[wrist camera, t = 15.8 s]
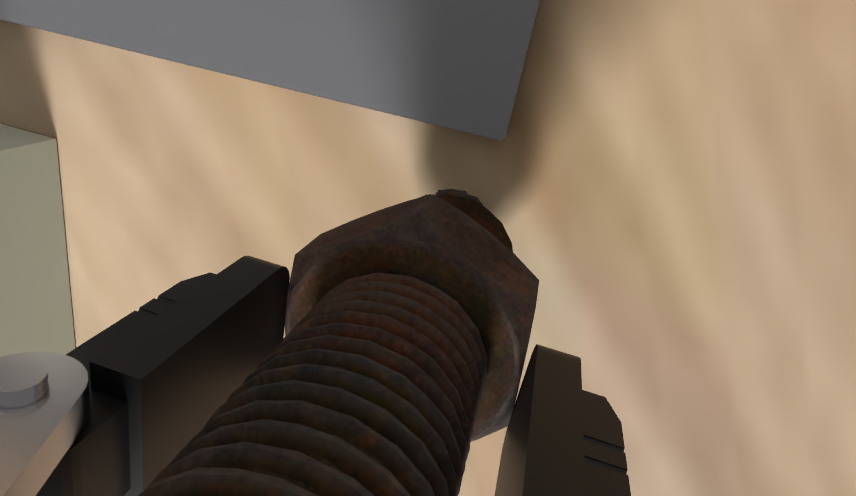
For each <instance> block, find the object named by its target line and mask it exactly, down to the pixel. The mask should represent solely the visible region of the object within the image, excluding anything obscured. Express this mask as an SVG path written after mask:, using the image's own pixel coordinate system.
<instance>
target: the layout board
mask: <svg viewBox="0 0 856 496" xmlns="http://www.w3.org/2000/svg"><path fill="white" fill-rule="evenodd" d="M539 4H540V0H0V20H4V21H9V22H13V23H17V24H21V25H25V26H29V27H33V28H38V29H42V30H46V31H50V32H54V33H58V34H62V35H66V36H71V37H75V38H79V39H83V40H87V41H91V42H95V43H100V44H104V45H108V46H112V47H116V48H120V49H124V50H128V51H133V52H137V53H141V54H145V55H149V56H153V57H157V58H162V59H166V60H170V61H174V62H178V63H182V64H186V65H190V66H195V67H199V68H203V69H207V70H211V71H215V72H219V73H224V74H228V75H232V76H236V77H240V78H244V79H248V80H252V81H257V82H261V83H265V84H269V85H273V86H277V87H281V88H286V89H290V90H294V91H298V92H302V93H306V94H310V95H314V96H319V97H323V98H327V99H331V100H335V101H339V102H343V103H348V104H352V105H356V106H360V107H364V108H368V109H372V110H376V111H381V112H385V113H389V114H393V115H397V116H401V117H405V118H410V119H414V120H418V121H422V122H426V123H430V124H434V125H438V126H443V127H447V128H451V129H455V130H459V131H463V132H467V133H471V134H476V135H480V136H484V137H488V138H492V139H496V140H500V141H503V140H504V138H505V136H506V134H507V131H508V127H509V123H510V119H511V115H512V111H513V107H514V103H515V99H516V95H517V91H518V87H519V83H520V79H521V75H522V71H523V67H524V64H525V60H526V56H527V52H528V48H529V44H530V40H531V36H532V32H533V28H534V24H535V20H536V16H537V12H538V8H539Z"/></svg>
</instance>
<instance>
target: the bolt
mask: <svg viewBox="0 0 856 496" xmlns="http://www.w3.org/2000/svg"><path fill="white" fill-rule="evenodd" d="M438 192H439V193H436V195H437V196H436V195H434V194H433V195H431V194H430V195H425V196H422V197H420V198H417V199H413V200H410V201H406V202H403V203H400V204H397V205H394V206H391V207H388V208H385V209H382V210H379V211H376V212H374V213H371V214H368V215H366V216H363V217H360V218H358V219H355V220H353V221H350V222H348V223H346V224H343V225H341V226H339V227H336V228H334V229H332V230H329V231H327V232H325V233H322V234H320V235H319V236H318V237H317V238H315V239H314V240H313V241H312V242H310V243H309V244H308V245H307V246H305V247H304V248H303V249H302V250H300V251H299V252H298V253H297V254H295V258H294V263H293V268H292V273H291V278H290V283H289V288H288V296H287V306H286V315H285V334H286V336H285V338H284V339H283V340H282V341H281V343H280V344H279V345H277V346H275V347H274V348H273V350H272V351H271V352H270V354H269V355H268V357H267V358H265V359H264V360H262V362H261V363H260V364H259V365H258V367H257V369H256V370H255V371H254V372H252V373H251V374H249V375H248V376H247V377H246V379H245V381H244V382H243V384H242V385H241V386H240V387H238V388H237V389H235V390H234V391H233V392H232V393H231V395H230V396H229V398H228V399H227V401H226V403H224V404H223V405H221V406H220V407H219V408H218V409H217V410H216V411H215V413H214V414H213V415H212V416H211V418H210V419H209V420H208V421H207V423H206V424H205V426H204V428H203V429H202V430H201V431H200V432H199V433H198V434H197V435H196V436H194V437H193V438H192V439H191V440H190V442H189V443H188V444H187V445H186V446H185V447H184V448H183V449H182V450H181V451H180V452H179V453H178V454H177V456H176V457H175V458H174V459H173V460H172V461H171V463H170V464H169V465H168V466H167V467H166V468H164V469H162V470H161V471H160V473H159V474H158V475H157V476H156V477H155V478H154V480H153V481H152V482H151V483H150V484H149V485H148V487H147V488H146V489H145V490H144V491H143V492H141V493H140V494H139V495H138V496H458V494H459V491H460V486H461V481H462V476H463V473H464V470H465V462H466V459H467V456H468V453H469V449H470V442H471V441H474V440H477V439H480V438H482V437H484V436H487V435H489V434H491V433H493V432H496V431H498V430H500V429H503V428H505V427H507V426H508V424H509V421H510V418H511V414H512V411H513V409H514V405H515V401H516V396H517V392H518V388H519V383H520V379H521V374H522V370H523V366H524V361H525V357H526V352H527V348H528V343H529V338H530V333H531V328H532V323H533V318H534V313H535V308H536V301H537V293H538V285H539V280H538V279H537V278H536V276H535V275H534V274H533V273H532V272H531V271H530V270H529V269H528V268H527V267H526V266H525V265H524V264H523V263H522V262H521V261H520V259H519V258H518V257H517V256H516V255H515V254H514V253H513V250H512V243H511V241H510V239H509V237H508V235H507V233H506V231H505V229H504V226H503V224H502V223H501V222H500V221H499V220H498V219H497V218H496V217H495V216H494V215H493V214H492V213H491V212H490V211H489V210H488V209H487V208H486V207H484V206H483V205H482V203H481V202H480V201H479V200H478V198H477V197H474V196H470V195H468V194H467V193H466V191H461V190H454V189H447V190H438Z"/></svg>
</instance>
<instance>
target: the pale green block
mask: <svg viewBox="0 0 856 496" xmlns="http://www.w3.org/2000/svg"><path fill="white" fill-rule="evenodd" d="M74 349H75V338H74V327H73V316H72V305H71V294H70V283H69V272H68V261H67V251H66V240H65V229H64V218H63V207H62V196H61V185H60V174H59V163H58V152H57V141H56V139H55V138H51V137H47V136H44V135H40V134H36V133H32V132H29V131H25V130H21V129H18V128H14V127H10V126H6V125H3V124H0V357H3V356H7V355H12V354H17V353H25V352H54V353H59V354H64V355H66V354H67V353H69V352H71V351H72V350H74Z"/></svg>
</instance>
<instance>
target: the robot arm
mask: <svg viewBox="0 0 856 496" xmlns="http://www.w3.org/2000/svg"><path fill="white" fill-rule="evenodd" d="M289 280H290V276H289V271H288V269H287V268H286V267H284V266H280V265H277V264H274V263H271V262H267V261H264V260H261V259H257V258H254V257H251V256H244V257H242V258H240V259H239V260H237V261H236V262H234V263H233V264H231V265H230V266H229V267H227V268H226V269H224V270H223V271H221V272H220V273H218V274H217V275H216V274H213V273H207V274H204V275H201V276H197V277H194V278H191V279H187V280H184V281H181V282H179V283H178V284H176V285H174V286H173V287H171V288H170V289H168V290H167V291H165V292H163V293H162V294H160V295H159V296H158V299H152V300H151V301H149V302H148V303H146V304H145V305H143V306H141V307H140V309H139V311H138V312H137V311H134V312H132V313H130V314H129V315H127V316H126V317H124V318H123V319H121V320H119V321H118V322H116V323H115V324H113V325H111V326H110V327H108V328H107V329H105V330H104V331H102V332H100V333H99V334H97V335H96V336H94V337H93V338H91V339H89V340H88V341H86V342H85V343H83V344H82V345H80V346H78V347H77V348H75V349H74V350H72V351H71V352H69V353H67V354H66V355H64V354H59V353H54V352H25V353H17V354H12V355H7V356H3V357H0V496H138V495H139V494H140V493H141V492H143V491H144V490H145V489H146V488H147V487H148V485H149V484H150V483H151V482H152V481H153V480H154V478H155V477H156V476H157V475H158V474H159V473H160V471H161V470H162V469H164V468H166V467H167V466H168V465H169V464H170V463H171V461H172V460H173V459H174V458H175V457H176V456H177V454H178V453H179V452H180V451H181V450H182V449H183V448H184V447H185V446H186V445H187V444H188V443H189V442H190V440H191V439H192V438H193V437H194V436H196V435H197V434H198V433H199V432H200V431H201V430H202V429H203V428H204V426H205V424H206V423H207V421H208V420H209V419H210V418H211V416H212V415H213V414H214V413H215V411H216V410H217V409H218V408H219V407H220V406H221V405H223V404H224V403H226V401H227V399H228V398H229V396H230V395H231V393H232V392H233V391H234V390H235V389H237V388H238V387H240V386H241V385H242V384H243V382H244V381H245V379H246V377H247V376H248V375H249V374H251V373H252V372H254V371H255V370H256V369H257V367H258V365H259V364H260V363H261V362H262V360H264V359H265V358H267V357H268V355H269V354H270V352H271V351H272V350H273V348H274V347H275V346H277V345H279V344H280V343H281V341H282V340H283V335H284V326H285V315H286V306H287V296H288V288H289ZM626 473H627V463H626V455H625V453H624V440H623V433H622V425H621V421H620V420H619V418H618V417H617V415H616V414H615V412H614V410H613V409H612V407H611V406H610V404H609V402H608V401H607V399H606V398H605V397H603V396H600V395H597V394H593V393H590V392H587V391H584V390H582V380H581V359H580V358H579V357H577V356H573V355H570V354H567V353H563V352H560V351H557V350H554V349H550V348H547V347H544V346H541V345H536V346H535V348H534V350H533V353H532V355H531V358H530V361H529V364H528V367H527V370H526V373H525V376H524V379H523V382H522V385H521V388H520V391H519V394H518V397H517V400H516V403H515V406H514V409H513V411H512V414H511V418H510V421H509V424H508V428H507V431H506V435H505V439H504V444H503V448H502V454H501V460H500V466H499V472H498V478H497V485H496V491H495V496H631V492H630V485H629V477H628V475H626Z"/></svg>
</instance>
